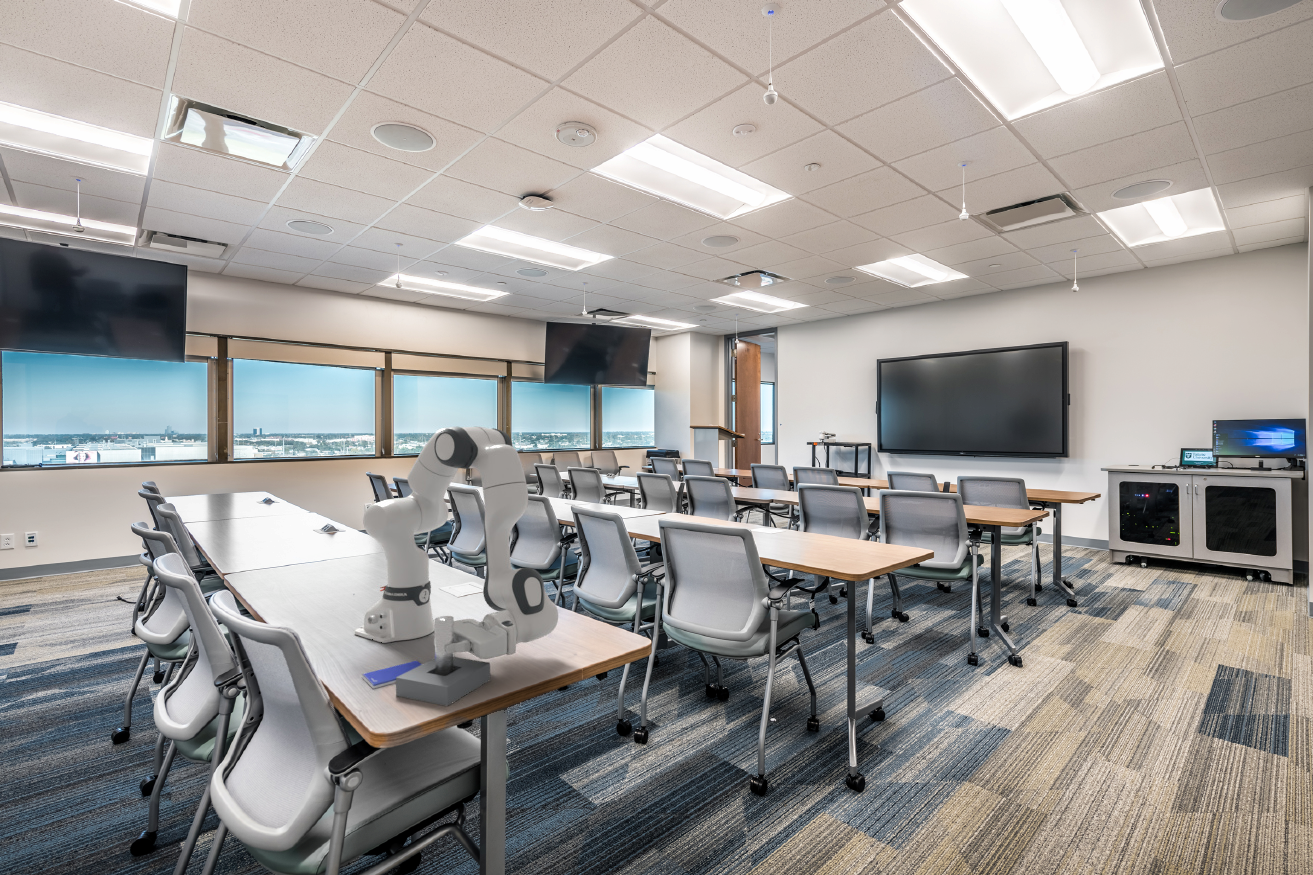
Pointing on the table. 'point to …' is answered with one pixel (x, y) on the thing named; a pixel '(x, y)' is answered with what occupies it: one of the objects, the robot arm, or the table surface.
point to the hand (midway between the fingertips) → (440, 646)
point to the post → (443, 637)
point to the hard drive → (388, 674)
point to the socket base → (442, 681)
